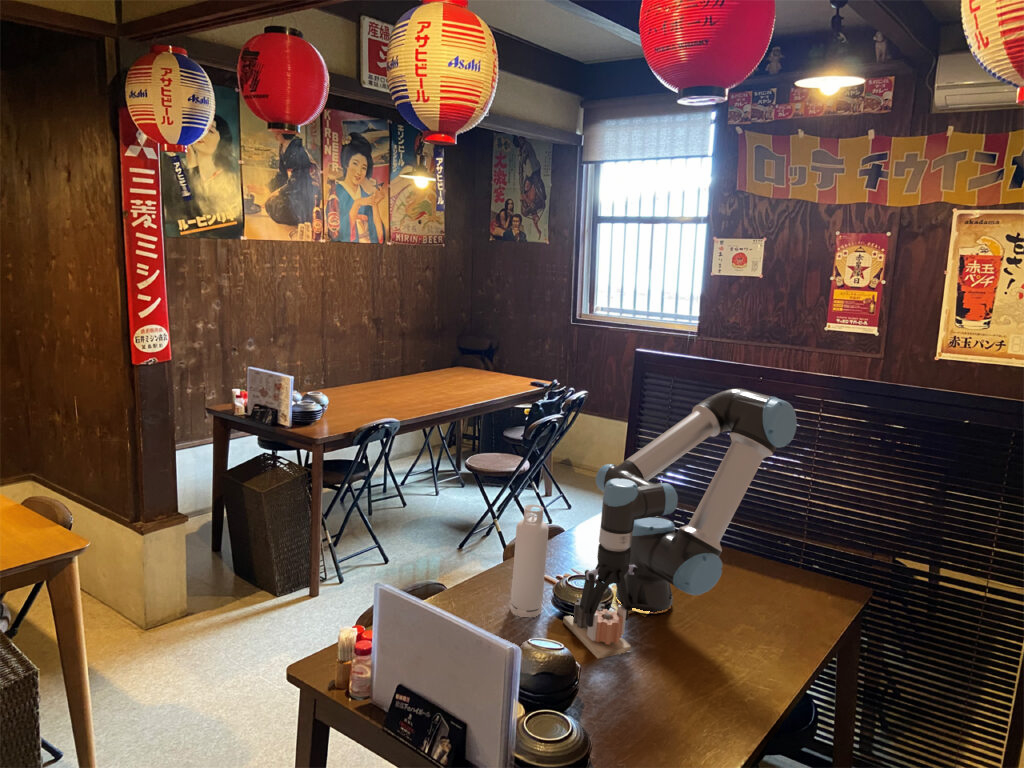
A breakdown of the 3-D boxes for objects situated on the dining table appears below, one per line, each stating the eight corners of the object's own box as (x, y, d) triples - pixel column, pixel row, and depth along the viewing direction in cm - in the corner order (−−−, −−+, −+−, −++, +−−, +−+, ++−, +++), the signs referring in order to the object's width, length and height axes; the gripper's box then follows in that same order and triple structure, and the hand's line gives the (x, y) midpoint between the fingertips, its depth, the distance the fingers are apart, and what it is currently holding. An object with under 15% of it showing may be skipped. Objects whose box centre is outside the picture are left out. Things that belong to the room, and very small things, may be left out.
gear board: (594, 616, 189) (596, 588, 188) (630, 652, 174) (633, 621, 173) (563, 622, 186) (565, 592, 184) (597, 658, 170) (600, 627, 169)
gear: (610, 626, 180) (612, 607, 179) (626, 641, 174) (628, 622, 173) (584, 630, 177) (586, 611, 176) (600, 646, 171) (602, 626, 170)
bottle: (545, 606, 193) (554, 505, 187) (536, 621, 185) (544, 516, 180) (516, 599, 195) (523, 500, 190) (506, 613, 188) (513, 510, 182)
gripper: (585, 556, 164) (576, 650, 168) (660, 547, 172) (649, 636, 176) (569, 543, 170) (560, 633, 175) (641, 534, 179) (632, 621, 183)
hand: (605, 634), depth 176 cm, fingers closed on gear, 7 cm apart
